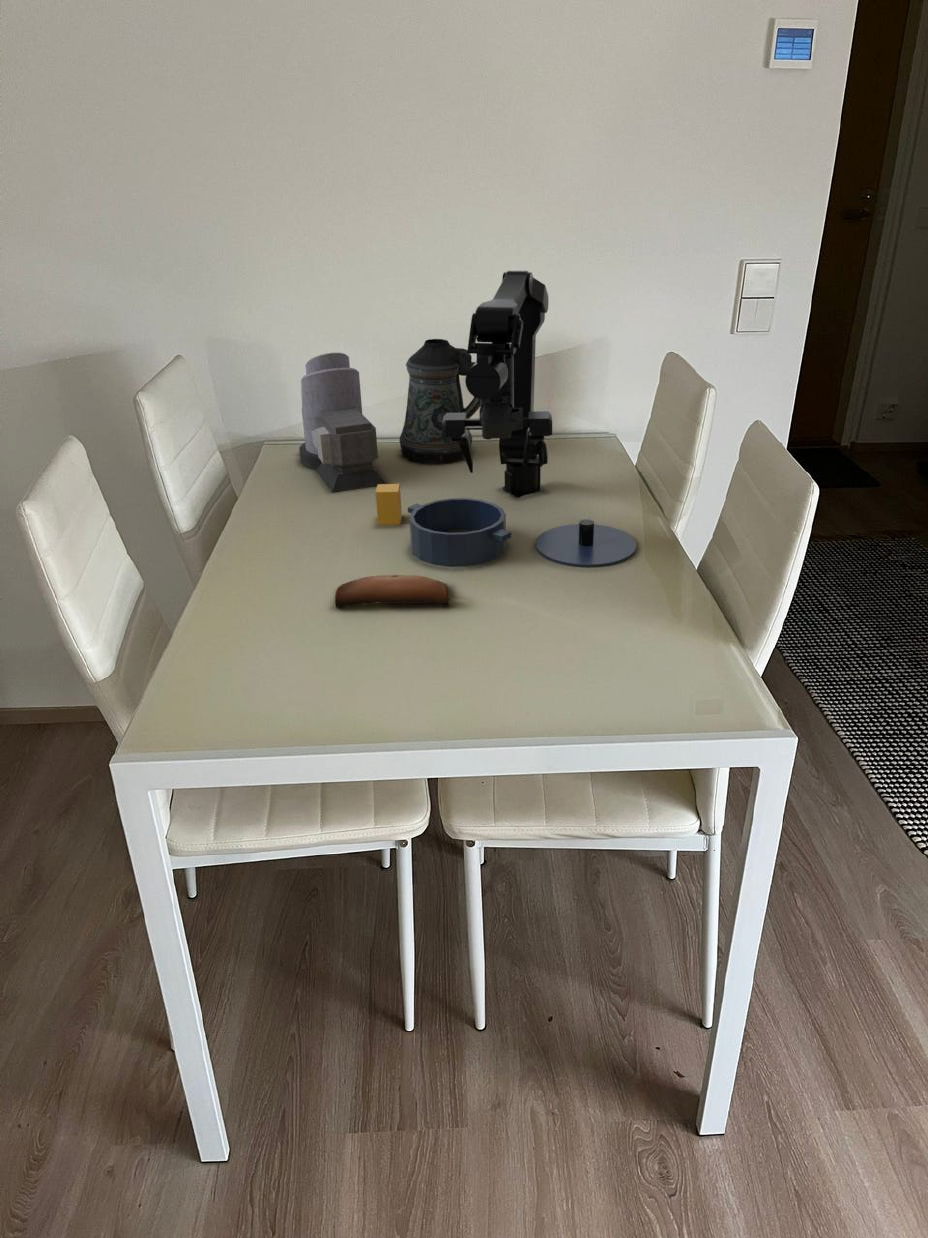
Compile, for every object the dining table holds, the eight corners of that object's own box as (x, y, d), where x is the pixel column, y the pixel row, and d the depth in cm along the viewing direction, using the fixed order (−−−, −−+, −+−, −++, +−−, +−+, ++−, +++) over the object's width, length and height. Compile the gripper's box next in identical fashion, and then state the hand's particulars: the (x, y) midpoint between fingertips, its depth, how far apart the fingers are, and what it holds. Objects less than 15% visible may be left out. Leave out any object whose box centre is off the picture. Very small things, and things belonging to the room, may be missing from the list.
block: (402, 518, 184) (399, 483, 181) (400, 526, 181) (398, 491, 177) (380, 518, 184) (377, 484, 181) (378, 527, 181) (375, 492, 177)
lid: (573, 521, 180) (574, 496, 178) (655, 544, 170) (657, 518, 168) (515, 552, 169) (515, 526, 166) (599, 579, 158) (600, 551, 156)
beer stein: (394, 445, 224) (387, 335, 212) (475, 437, 227) (472, 329, 215) (407, 468, 209) (400, 352, 197) (493, 459, 213) (492, 344, 201)
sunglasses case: (450, 581, 158) (448, 558, 152) (450, 618, 155) (448, 596, 149) (341, 584, 158) (335, 561, 153) (338, 621, 155) (332, 599, 149)
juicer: (293, 451, 222) (280, 343, 210) (360, 442, 227) (351, 336, 215) (321, 493, 197) (309, 374, 185) (396, 482, 202) (389, 365, 190)
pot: (443, 520, 183) (442, 488, 180) (536, 549, 170) (536, 515, 167) (381, 549, 172) (379, 515, 169) (475, 582, 159) (474, 546, 156)
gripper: (438, 397, 155) (442, 488, 162) (554, 395, 154) (552, 487, 161) (442, 379, 165) (445, 466, 172) (551, 377, 164) (550, 465, 171)
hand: (497, 471), depth 169 cm, fingers open, 9 cm apart
